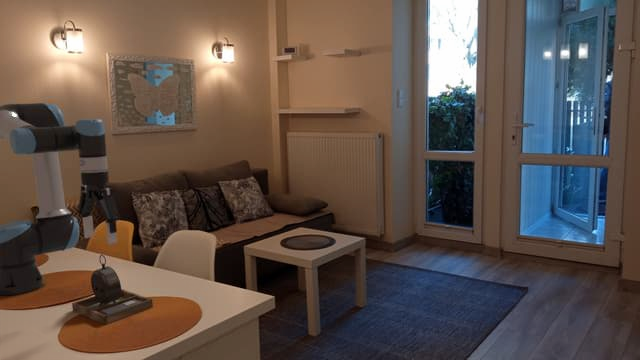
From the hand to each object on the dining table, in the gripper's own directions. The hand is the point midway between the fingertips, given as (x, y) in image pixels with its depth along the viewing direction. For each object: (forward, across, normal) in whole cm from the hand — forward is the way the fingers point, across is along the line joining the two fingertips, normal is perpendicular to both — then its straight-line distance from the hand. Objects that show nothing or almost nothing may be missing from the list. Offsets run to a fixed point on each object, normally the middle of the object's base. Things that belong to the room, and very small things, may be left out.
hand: (100, 240), depth 157 cm
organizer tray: (+22, +4, 0) cm, 22 cm away
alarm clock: (+21, 0, 0) cm, 21 cm away
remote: (+21, +9, 0) cm, 23 cm away
